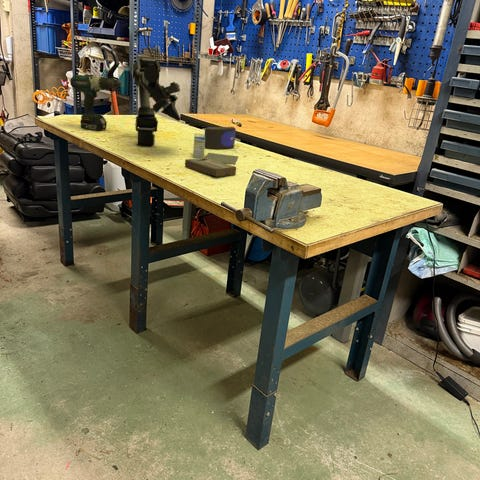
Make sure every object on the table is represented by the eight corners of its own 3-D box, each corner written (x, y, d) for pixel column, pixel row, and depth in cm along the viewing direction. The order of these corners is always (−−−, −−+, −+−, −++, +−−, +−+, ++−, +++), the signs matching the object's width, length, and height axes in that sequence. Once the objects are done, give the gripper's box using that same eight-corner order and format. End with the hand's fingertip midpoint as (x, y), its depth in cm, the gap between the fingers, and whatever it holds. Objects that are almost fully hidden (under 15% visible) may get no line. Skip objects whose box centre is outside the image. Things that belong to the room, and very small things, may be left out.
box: (215, 178, 150) (215, 169, 148) (184, 167, 160) (184, 158, 159) (236, 175, 157) (237, 166, 156) (205, 164, 168) (206, 156, 167)
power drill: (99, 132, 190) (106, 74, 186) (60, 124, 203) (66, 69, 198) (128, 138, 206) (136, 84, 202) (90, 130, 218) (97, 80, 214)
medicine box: (193, 153, 182) (194, 132, 178) (203, 154, 182) (205, 133, 179) (192, 157, 174) (194, 136, 171) (203, 158, 175) (205, 137, 171)
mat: (202, 160, 172) (202, 159, 172) (208, 153, 184) (208, 152, 184) (234, 164, 171) (234, 163, 171) (238, 157, 184) (238, 156, 184)
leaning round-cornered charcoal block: (207, 150, 190) (209, 128, 186) (202, 147, 194) (204, 126, 190) (238, 149, 199) (240, 128, 195) (232, 146, 202) (234, 126, 199)
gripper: (161, 75, 158) (189, 110, 162) (173, 73, 175) (198, 104, 179) (140, 95, 162) (168, 128, 166) (154, 91, 179) (179, 121, 183)
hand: (179, 120), depth 173 cm, fingers closed
